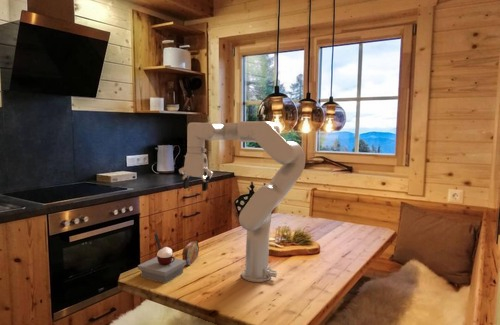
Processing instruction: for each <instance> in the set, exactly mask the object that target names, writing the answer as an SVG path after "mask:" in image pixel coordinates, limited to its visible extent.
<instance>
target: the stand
mask: <svg viewBox="0 0 500 325" xmlns="http://www.w3.org/2000/svg"><path fill="white" fill-rule="evenodd" d="M174 258H175V260H174V261H173V258H172V261H173V262H172V261H171V262H172V263H170V264H168V265H161V264H160V263H159V262H158V259H157V256H155V257H153V258H151V259H148V260H146V261H145V262H142V263H140V264H138V265H137V270H140V271H141V272H140V273H141V278H145V279H147V280H151V281H155V282H158V283H162V284H166V283H167V282H170V281H171V280H173V279H175V278H176V277H178V276H179V275H181V274H183V273H184V267H185V266H187V265H186V261H185V260H183V259H181V258H176V257H174Z"/></svg>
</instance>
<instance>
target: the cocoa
mask: <svg viewBox="0 0 500 325" xmlns="http://www.w3.org/2000/svg"><path fill="white" fill-rule="evenodd" d="M154 239H155V241H156V245H157V249H158V251H157V254H156V257H157V259H158V262H159V263H160V264H161V265H168V264H170V263H172V262H173V261H174V260H175V258H176V257H174V254H173V249H172V248H170V247H168V246H164V247H163V248H162V246H161V242H160V239H159V235H158V233H157V232H155V233H154ZM172 258H173V261H172ZM171 261H172V262H171Z"/></svg>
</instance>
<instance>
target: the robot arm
mask: <svg viewBox="0 0 500 325" xmlns="http://www.w3.org/2000/svg"><path fill="white" fill-rule="evenodd" d="M186 131H187V137H186V138H187V142H186V143H187V144H186V145H187V148H186V150H187V151H186V154H185V158H184V165H183V166H182V167H181V168H179V169H178V172H179V175H180V177H181V179H182V181H183V189H184V190H185V189H189V187H190V179H189V178H190V177H192V178H194V177H195V178H201V180H202V182H201V183H202V184H201V191H202V192H206V191H208V189H209V187H208V185H209V182H210V180H211V179H212V177H213V175H214V171H212V170H211V169H209V165H208V164H209V163H208V157H207V154H205V153H207V151H208V149H207V148H206V143H205V142H206V141H216V140H217V141H221V140H224V141H225V140H226V141H230V140H231V141H233V140H234V141H238V142H240V143H241V142H242V143H257V145H258V146H260V148H262V150H264V152H265V153H266V154H268V156H269V157H270V158H271V159H272V160H273V161H275V162H276V163H277V164H279V165H281V167H280V168H279V169H278V171H276V173H275V174H274V176H273V177H272V178H271V179H270V181H269V182H268V183H266V184H264V185H262V186H260V187H259V188H258V189H256V191H255V192H254V193H253V194H252V196H251V197H250V199H249V200H248V201H247V203H246V204H245V206H244V207H243V208H242V209H241V210H240V212H239V216H238V220H239V221H238V222H239V224H240V226H241V228H243V229H244V230H246V236H245V237H246V239H245V240H246V241H245V242H246V243H245V267H244V268H245V269H244V270H243V271H241V277H242V278H243V279H244V280H245V281H249V282H253V283H264V282H267V281H269V280H270V279H272V278H277V276H278V273H277V270H274V269H271V265H269V255H270V253H269V252H270V248H269V247H270V231H271V230H270V229H271V223H272V216H273V215H272V212H273V210H274V209H275V208H276V207H278V206H279V205H280V204H282V202H283V201H284V199H285V197H286V196H287V195H288V193H289V192H290V191H291V190H292V189H293V187H294V185H295V184H296V183H297V181H298V180H299V179H300V178H301V175H302V174H303V172H304V170H305V167H306V166H305V165H306V155H305V152H304V149H303V148H302V146H301V145H300V144H299V143H298V142H295V141H292V140H291V141H290V140H287V141H286V139H285V138H284V137H282V136H281V134H280V131H281V130H280V128H279V125H278V124H277V123H276V122H274V121H268V120H262V121H261V120H260V121H252V120H251V121H249V120H248V121H247V120H246V121H244V120H240V121H238V122H213V121H212V122H210V121H209V122H189V123H188V124H187V130H186Z"/></svg>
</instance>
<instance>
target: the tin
mask: <svg viewBox="0 0 500 325" xmlns="http://www.w3.org/2000/svg"><path fill="white" fill-rule="evenodd" d="M199 249H200V248H199V243H198V241H190V242H189V243H188V244H186V245H185V246H184V247H183V249H182V254H181V256H182V260H185V261H186V265H185V266H191V265H192V264H193V263H194V262H195V261H196V260H197V259H198V256H199V251H200V250H199Z"/></svg>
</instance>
